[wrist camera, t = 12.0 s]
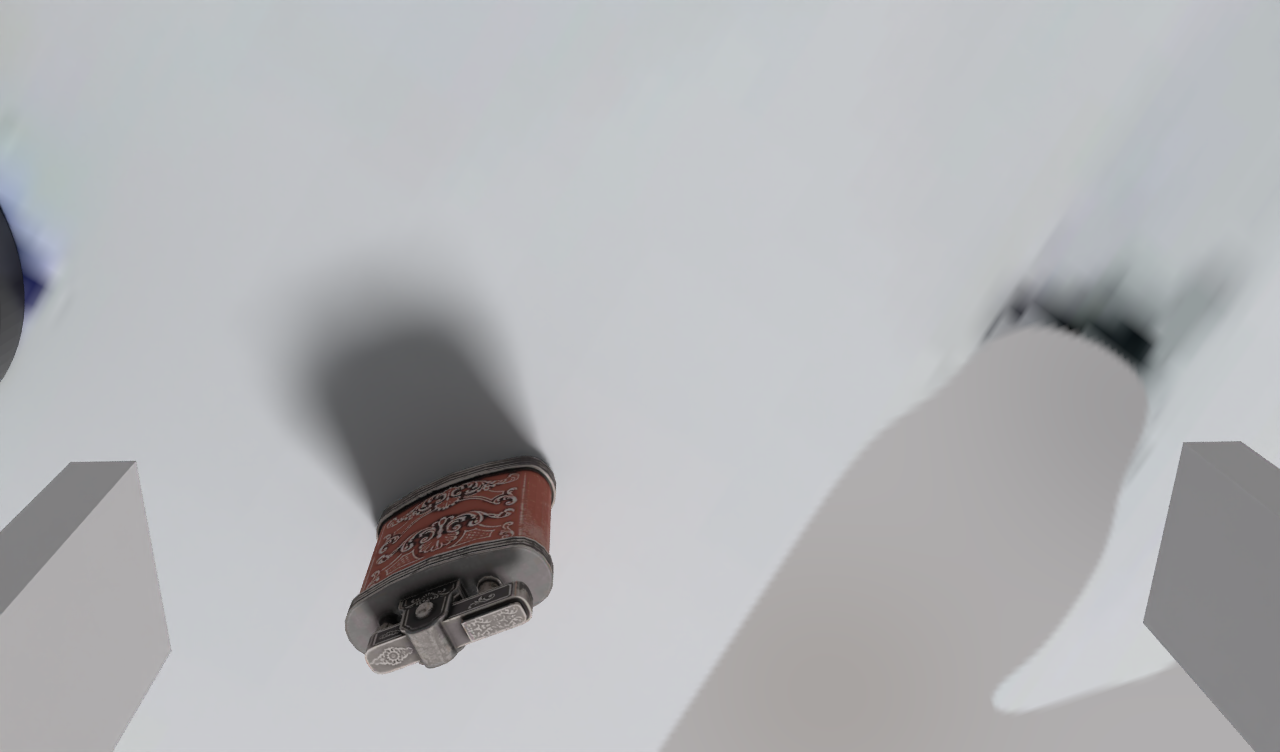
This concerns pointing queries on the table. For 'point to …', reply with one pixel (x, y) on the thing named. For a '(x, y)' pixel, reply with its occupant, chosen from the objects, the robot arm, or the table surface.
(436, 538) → the lighter
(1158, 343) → the table surface
